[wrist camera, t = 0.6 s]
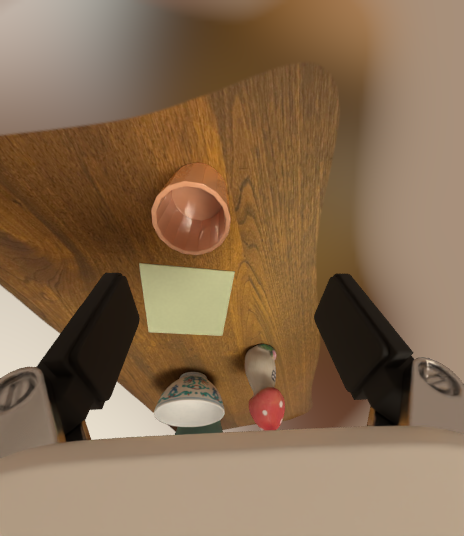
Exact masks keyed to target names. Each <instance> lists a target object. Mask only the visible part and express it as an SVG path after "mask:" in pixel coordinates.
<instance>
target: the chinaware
mask: <svg viewBox="0 0 464 536" xmlns="http://www.w3.org/2000/svg"><path fill="white" fill-rule="evenodd" d="M154 416H155V418H156V419H157V420H159V421H160V422H163V423H165V424H168V425H172V426H179V427H198V426H205V425H209V424H212V423H215V422H217V421H219V420H220V419H221V418H222V417H223V416H224V407H223V402H222V399H221V396H220V394H219V392H218V390H217V389H216V387H215V386H214V385H213V384H212V383H211V382H210V381H208V380H207V377H206V376H205V375H204V374H202V373H199V372H187V373H184V374H182V375H181V376H180V378H179V379H178V380H176V381H175V382H173V383H172V384H171V385H170V386H169V387H168V388H167V389H166V390H165V391H164V393H163V394H162V396H161V397H160V399H159V401H158V403H157V405H156V408H155V411H154Z"/></svg>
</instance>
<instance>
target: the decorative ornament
mask: <svg viewBox="0 0 464 536" xmlns="http://www.w3.org/2000/svg"><path fill="white" fill-rule="evenodd" d="M275 358H276V352H275V350H274V349H273V348H272V347H271V346H270V345H266V344H260V345H257V346H255V347H253V348H251V349H250V350H248V352H247V354H246V357H245V372H246V376H247V378H248V381H249V384H250V386H251V388H252V390H253V392H254V396H253V397H252V398H251V399H250V400H249V411H250V414H251V416H252V418H253V419H254V421H255V422H256V424H257V425H258V426H259V427H260V428H261V429H262V430H263V431H269V430H276V429H278V427H279V426H280V424H281V422H282V419H283V416H284V411H285V401H284V398H283V396H282V395H281V393H280V391H279V390H278V389H276V388H274V386H275V379H276V367H275V362H274V361H275Z"/></svg>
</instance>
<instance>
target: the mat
mask: <svg viewBox="0 0 464 536" xmlns="http://www.w3.org/2000/svg"><path fill="white" fill-rule="evenodd" d="M139 267H140V274H141V281H142V288H143V295H144V302H145V309H146V316H147V323H148V330H149V332H157V333H177V334H197V335H218V336H222V334H223V329H224V324H225V319H226V314H227V308H228V303H229V298H230V293H231V288H232V283H233V278H234V273H235V272H234V271H224V270H212V269H201V268H190V267H179V266H167V265H156V264H145V263H139Z"/></svg>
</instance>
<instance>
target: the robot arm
mask: <svg viewBox="0 0 464 536" xmlns="http://www.w3.org/2000/svg"><path fill="white" fill-rule="evenodd" d="M314 320H315V323H316V325H317V327H318V329H319V332H320V334H321V336H322V338H323V340H324V342H325V344H326V347H327V349H328V351H329V353H330V355H331V357H332V360H333V362H334V364H335V366H336V369H337V371H338V373H339V375H340V377H341V379H342V382H343V384H344V386H345V388H346V390H347V391H348V392H351V394H352V397H353V398H354V400H361V399H368V401H369V403H370V405H371V407H370V412H369V417H368V422H367V426H365V427H341V428H340V427H339V428H316V429H315V428H314V429H291V430H269V431H248V432H227V433H226V432H225V433H204V434H185V435H166V436H145V437H126V438H112V439H99V440H91V438H90V435H89V431H88V428H87V425H86V422H85V419H86V417H87V414H88V412H89V410H93V409H102V408H103V405H104V403H105V401H107V400H109V399H110V397H111V395H112V392H113V390H114V387H115V385H116V382H117V379H118V377H119V374H120V371H121V369H122V366H123V364H124V361H125V358H126V356H127V353H128V351H129V348H130V345H131V343H132V340H133V337H134V335H135V332H136V330H137V327H138V324H139V314H138V311H137V308H136V305H135V302H134V299H133V296H132V293H131V290H130V287H129V284H128V281H127V278H126V277H125V276H122V274H121V273H105V274H104V275H103V276H102V277H101V279H100V280H99V282H98V283H97V284H96V286H95V287H94V289H93V290H92V291H91V293H90V294H89V296H88V297H87V298H86V300H85V301H84V303H83V304H82V305H81V306H80V307H79V309H78V310H77V312H76V313H75V314H74V316H73V317H72V318H71V320H70V321H69V323H68V324H67V325H66V327H65V328H64V330H63V331H62V332H61V334H60V335H59V337H58V338H57V340H56V341H55V342H54V344H53V345H52V346H51V348H50V349H49V350H48V352H47V353H46V355H45V356H44V357H43V359H42V360H41V362H40V363H39V365H38V366H37V367H25V368H20V369H17V370H15V371H13V372H10V373H8V374H7V375H5V376H4V377H2V378H0V536H464V384H463V383H462V382H461V380H460V379H459V378H458V376H456V374H455V373H453V372H452V371H451V370H450V369H449V368H447V367H446V366H444V365H443V364H441V363H439V362H437V361H434V360H432V359H430V358H424V357H421V358H416V359H415V360H414V358H413V357H412V356H411V355H412V354H413V352H412V350H411V349H410V348H409V347H408V345H407V344H406V343H405V342H404V341H403V339H402V338H401V337H400V336H399V334H398V333H397V332H396V331H395V329H394V328H393V327H392V326H391V324H390V323H389V322H388V321H387V320H386V318H385V317H384V316H383V315H382V313H381V312H380V311H379V310H378V308H377V307H376V306H375V305H374V303H372V301H371V300H370V299H369V297H368V296H367V295H366V294H365V292H364V291H363V290H362V289H361V287H360V286H359V285H358V284H357V282H356V281H355V280H354V279H353V278H352V276H351V275H350V274H335V275H334V276H333V277H331V278H330V279H329V282H328V284H327V286H326V289H325V291H324V294H323V296H322V298H321V300H320V303H319V305H318V308H317V310H316V312H315V315H314Z"/></svg>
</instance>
